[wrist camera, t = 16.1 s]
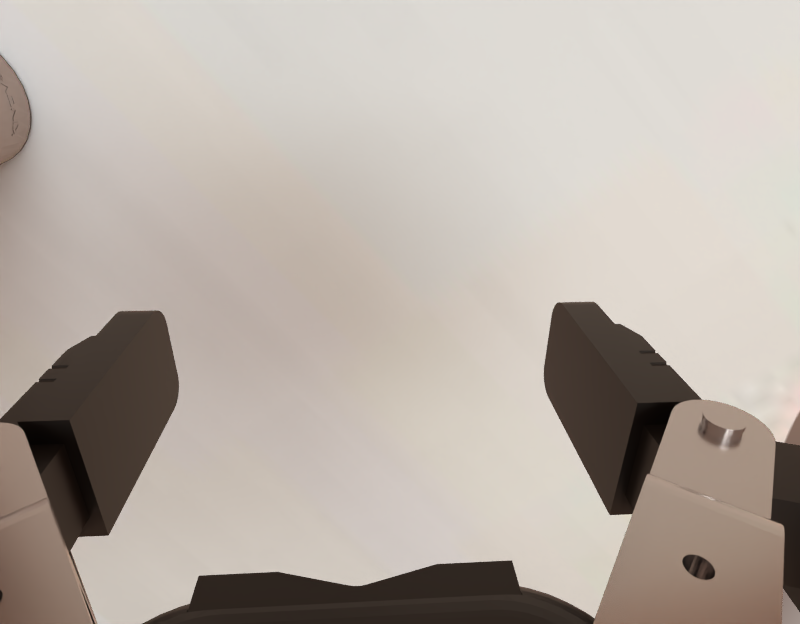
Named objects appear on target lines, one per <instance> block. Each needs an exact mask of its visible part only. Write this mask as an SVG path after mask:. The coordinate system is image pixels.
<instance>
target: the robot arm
mask: <svg viewBox="0 0 800 624" xmlns="http://www.w3.org/2000/svg"><path fill="white" fill-rule="evenodd" d="M29 130H30V110H29V104H28V99H27V97H26V94H25V92H24V89H23V87H22V84H21V83H20V81H19V79H18V78H17V76H16V74H15V73H14V71H13V70H12V68H11V67H10V66H9V65H8V64H7V63H6V61H5V60H4V59H3V58H2V57H1V56H0V164H2V163H4V162H6V161H8V160H10V159H12V158H13V157H14V156H15V155H16V154H17V153H18V152H19V151H20V150H21V148H22V147H23V145H24V144H25V142H26V140H27V137H28V133H29ZM544 382H545V388H546V392H547V395H548V397H549V399H550V401H551V403H552V405H553V407H554V409H555V411H556V413H557V415H558V417H559V419H560V420H561V422H562V424H563V426H564V428H565V430H566V432H567V434H568V436H569V438H570V440H571V442H572V443H573V445H574V447H575V449H576V451H577V453H578V455H579V457H580V459H581V461H582V463H583V465H584V467H585V468H586V470H587V472H588V474H589V476H590V478H591V480H592V482H593V484H594V486H595V488H596V490H597V492H598V493H599V495H600V497H601V499H602V501H603V503H604V505H605V507H606V509H607V511H608V513H609V515H620V514H632V517H631V520H630V522H629V525H628V528H627V531H626V534H625V536H624V539H623V542H622V545H621V547H620V550H619V553H618V556H617V559H616V561H615V564H614V567H613V570H612V572H611V575H610V578H609V581H608V584H607V586H606V589H605V592H604V595H603V597H602V600H601V603H600V606H599V609H598V611H597V614H596V617H595V618H593V617H592V616H590V615H589V614H587V613H586V612H584V611H582V610H580V609H579V608H577V607H575V606H573V605H571V604H569V603H568V602H565V601H563V600H561V599H558V598H556V597H554V596H551V595H549V594H546V593H542V592H539V591H536V590H533V589H529V588H525V587H520V586H519V584H518V580H517V577H516V573H515V570H514V566H513V563H512V561H493V562H473V563H452V564H436V565H433V566H429V567H426V568H422V569H419V570H415V571H412V572H409V573H405V574H402V575H398V576H395V577H391V578H388V579H385V580H381V581H378V582H374V583H371V584H368V585H363V586H348V585H343V584H337V583H332V582H327V581H322V580H317V579H311V578H306V577H301V576H296V575H290V574H285V573H280V572H268V573H248V574H227V575H207V576H199V577H198V580H197V583H196V587H195V590H194V593H193V596H192V599H191V603H190V604H188V605H184V606H181V607H178V608H176V609H173V610H171V611H168V612H166V613H163V614H161V615H159V616H157V617H155V618H153V619H151V620H149V621H147V622H145V623H143V624H782V599H783V589H784V590H785V592H786V593H787V594H788V596H789V597H790V599H791V600H792V602H793V603H794V604H795V606H796V607H797V609H798V610H799V612H800V446H799V445H793V444H787V443H781V442H776V441H775V438H774V436H773V434H772V432H771V431H770V429H769V428H768V427H767V426H766V425H765V424H764V423H762V422H761V421H760V420H759V419H757V418H756V417H754V416H752V415H751V414H749V413H747V412H745V411H743V410H741V409H738V408H736V407H734V406H731V405H728V404H724V403H720V402H716V401H710V400H702V399H701V398H700V397H699V396H698V395H697V394H696V393H695V392H694V391H693V390H692V389H691V388H690V387H689V386H688V384H687V383H686V382H685V381H684V380H683V379H682V378H681V377H680V376H679V375H678V374H677V373H676V372H675V371H674V370H673V369H672V368H671V367H670V365H666V361H665V360H664V359H663V358H662V357H661V356H660V355H659V354H658V353H655V350H654V349H653V348H652V346H651V345H650V344H649V343H648V342H647V341H646V340H645V339H644V338H643V337H642V336H641V335H639V334H637V333H635V332H633V331H632V330H630V329H628V328H626V327H625V326H623V325H621V324H614V323H613V322H612V320H611V319H610V318H609V317H608V316H607V315H606V314H605V313H604V311H603V310H602V309H601V308H600V307H599V306H598V305H597V304H596V303H595V302H564V303H557V304H556V305H555V307H554V309H553V312H552V318H551V325H550V331H549V338H548V345H547V352H546V359H545V365H544ZM178 392H179V381H178V374H177V370H176V365H175V360H174V356H173V351H172V346H171V342H170V337H169V332H168V328H167V323H166V320H165V317H164V315H163V314H162V313H161V312H160V311H120V312H118V313H117V314H115V316H114V317H113V318H112V319H111V320H110V321H109V322H108V323H107V324H106V325H105V326H104V328H103V329H102V330H101V331H100V332H99V333H98V334H97V335H96V336H91V337H89V338H87V339H85V340H84V341H82V342H80V343H78V344H77V345H75V346H73V347H71V348H70V349H68V350H67V351H66V352H65V353H64V354H63V355H62V356H61V357H60V358H59V359H58V360H57V361H56V362H55V363H54V364H53V365H52V369H48V370H47V371H46V372H45V373H44V374H43V375H42V376H41V377H40V379H39V382H36V383H35V384H34V385H33V386H32V387H31V388H30V389H29V390H28V391H27V392H26V393H25V394H24V395H23V396H22V397H21V398H20V399H19V400H18V401H17V402H16V403H15V404H14V405H13V406H12V407H11V408H10V410H9V411H8V412H7V413H6V414H5V415H4V416H3V417H2V418H1V419H0V624H97V621H96V618H95V615H94V613H93V610H92V607H91V604H90V602H89V599H88V596H87V594H86V591H85V588H84V585H83V583H82V580H81V577H80V574H79V572H78V569H77V566H76V564H75V561H74V558H73V556H72V553H71V551H70V550H71V549H72V547H73V545H74V543H75V542H76V540H77V538H78V537H84V536H106V535H109V533H110V532H111V530H112V528H113V526H114V524H115V522H116V520H117V518H118V516H119V514H120V512H121V510H122V508H123V507H124V505H125V503H126V501H127V499H128V497H129V495H130V493H131V491H132V489H133V487H134V485H135V483H136V482H137V480H138V478H139V476H140V474H141V472H142V470H143V468H144V466H145V464H146V462H147V460H148V458H149V456H150V455H151V453H152V451H153V449H154V447H155V445H156V443H157V441H158V439H159V437H160V435H161V433H162V431H163V430H164V428H165V426H166V424H167V422H168V420H169V418H170V416H171V414H172V412H173V410H174V408H175V406H176V403H177V399H178Z"/></svg>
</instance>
